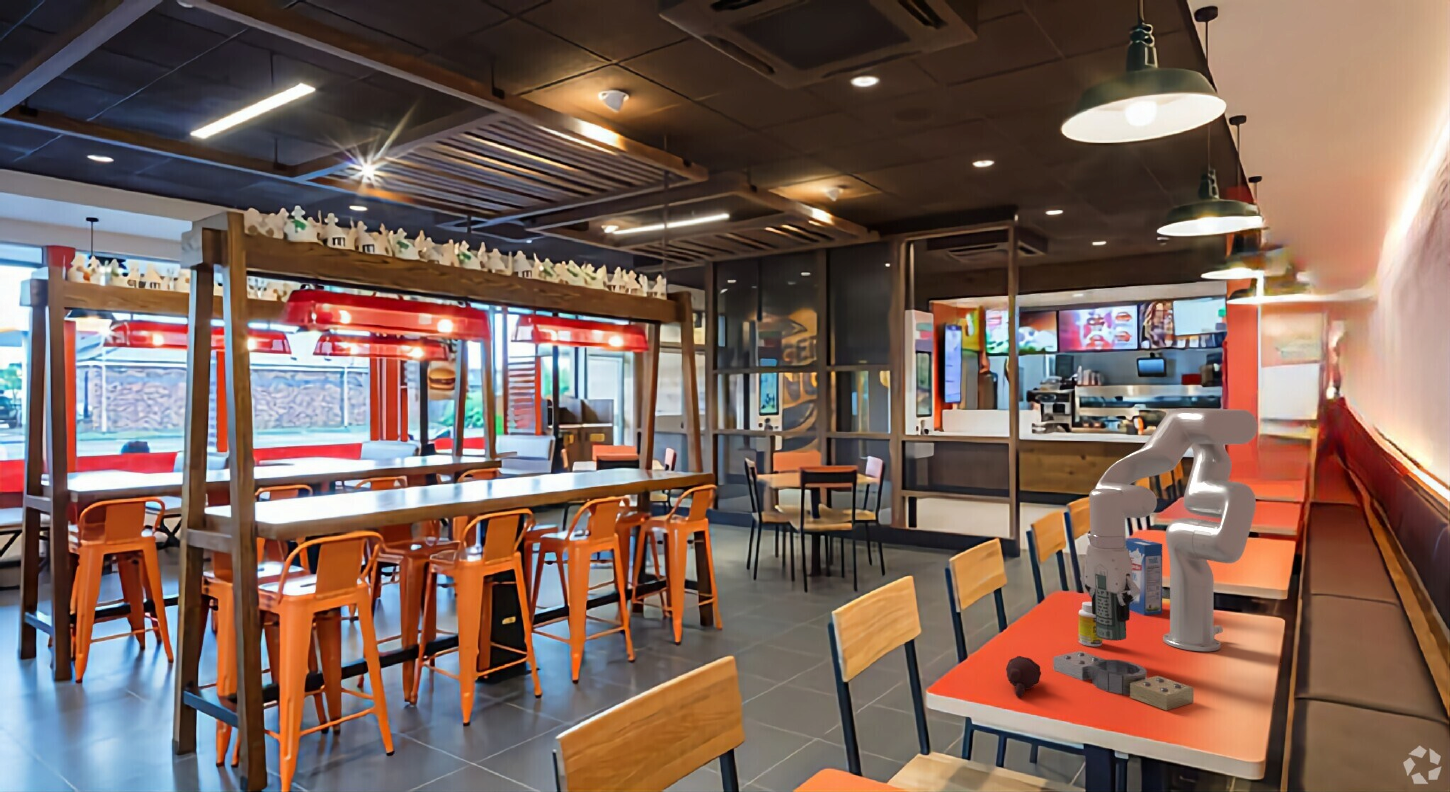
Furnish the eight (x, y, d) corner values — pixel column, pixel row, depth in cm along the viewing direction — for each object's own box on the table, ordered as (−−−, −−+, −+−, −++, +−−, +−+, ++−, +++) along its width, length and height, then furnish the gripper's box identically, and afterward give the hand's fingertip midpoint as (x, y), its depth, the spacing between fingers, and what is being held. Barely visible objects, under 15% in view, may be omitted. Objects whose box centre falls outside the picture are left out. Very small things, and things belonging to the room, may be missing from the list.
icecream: (1009, 645, 188) (992, 670, 175) (1042, 642, 184) (1028, 668, 171) (1018, 675, 188) (1002, 702, 175) (1051, 673, 184) (1037, 701, 171)
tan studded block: (1157, 689, 177) (1157, 674, 177) (1193, 701, 170) (1193, 686, 170) (1130, 697, 173) (1130, 681, 173) (1166, 710, 166) (1166, 694, 166)
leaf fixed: (1082, 663, 195) (1082, 646, 195) (1156, 689, 178) (1156, 670, 178) (1051, 670, 190) (1051, 652, 190) (1124, 697, 173) (1124, 678, 173)
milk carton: (1162, 613, 236) (1162, 543, 236) (1144, 615, 235) (1144, 545, 234) (1136, 604, 246) (1136, 537, 246) (1118, 606, 244) (1118, 538, 244)
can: (1131, 636, 194) (1128, 573, 194) (1115, 642, 191) (1113, 577, 190) (1107, 630, 199) (1104, 568, 199) (1091, 635, 196) (1089, 573, 195)
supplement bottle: (1094, 648, 205) (1094, 607, 205) (1073, 642, 210) (1074, 602, 210) (1107, 644, 208) (1107, 604, 208) (1087, 639, 213) (1087, 599, 213)
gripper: (1066, 537, 200) (1069, 610, 201) (1130, 550, 185) (1132, 629, 185) (1088, 533, 204) (1090, 605, 204) (1152, 545, 188) (1154, 623, 189)
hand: (1110, 616), depth 195 cm, fingers closed on can, 6 cm apart
